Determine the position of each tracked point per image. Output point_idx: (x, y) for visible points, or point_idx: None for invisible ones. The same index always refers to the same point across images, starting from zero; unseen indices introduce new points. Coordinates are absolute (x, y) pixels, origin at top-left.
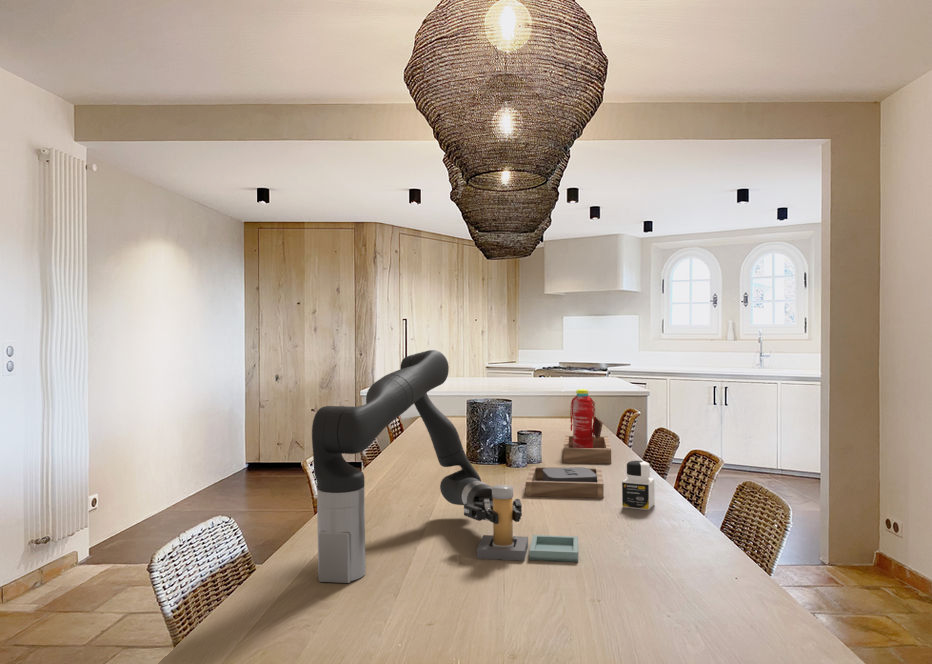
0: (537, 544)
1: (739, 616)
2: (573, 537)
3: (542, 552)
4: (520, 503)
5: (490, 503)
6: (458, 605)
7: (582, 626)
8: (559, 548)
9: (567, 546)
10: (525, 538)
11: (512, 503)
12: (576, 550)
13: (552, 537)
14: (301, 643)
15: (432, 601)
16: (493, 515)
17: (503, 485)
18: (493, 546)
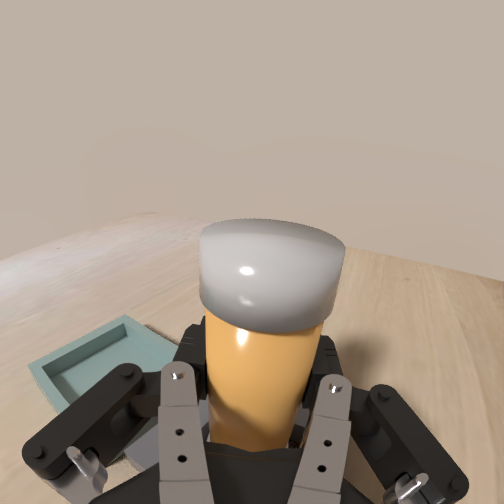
0: None
1: (141, 229)
2: (39, 368)
3: None
4: (95, 388)
5: (276, 497)
6: (384, 293)
7: None
8: (98, 380)
9: (71, 379)
10: (145, 442)
11: (77, 480)
12: (117, 320)
13: (68, 403)
14: (484, 283)
15: (416, 306)
16: (321, 335)
17: (244, 250)
18: (296, 423)
